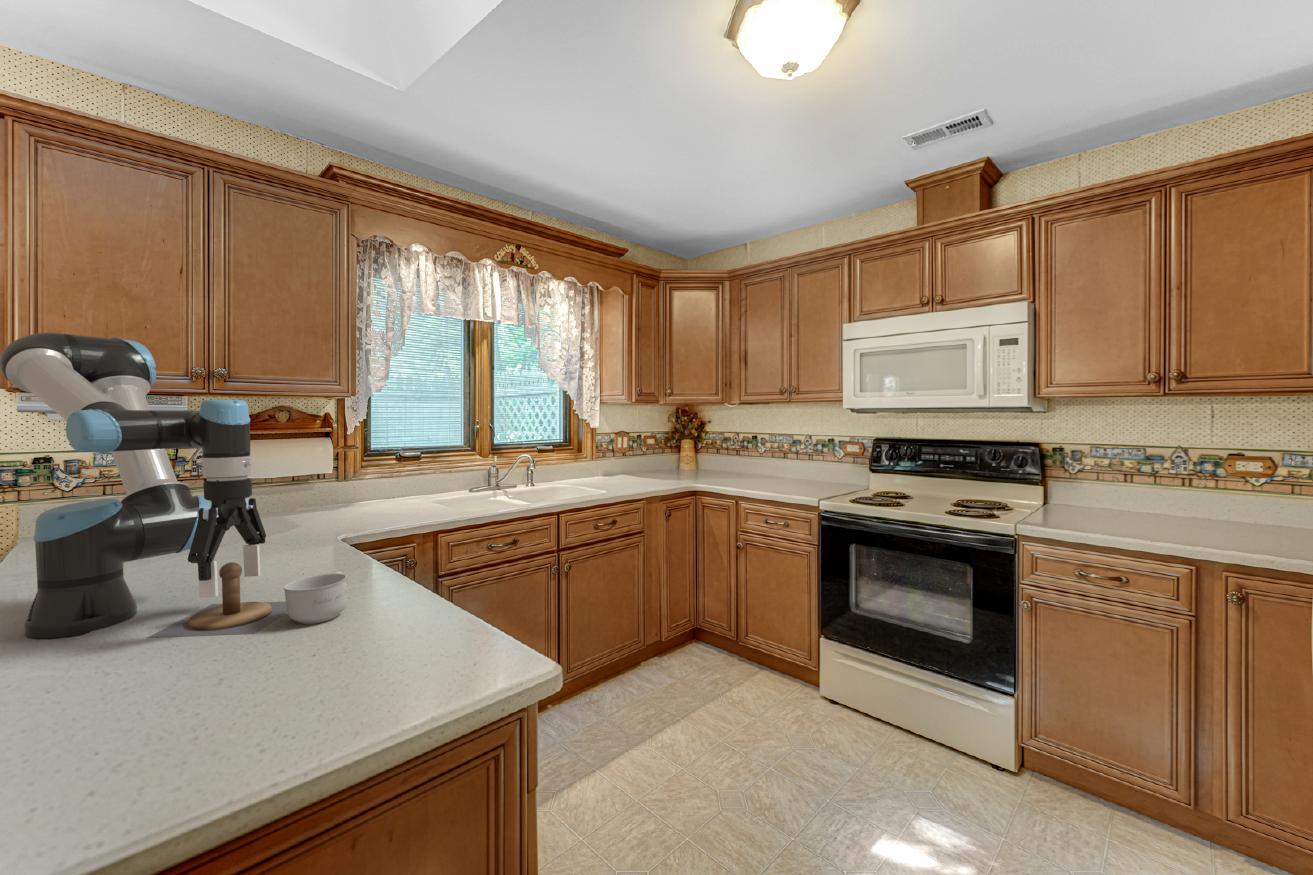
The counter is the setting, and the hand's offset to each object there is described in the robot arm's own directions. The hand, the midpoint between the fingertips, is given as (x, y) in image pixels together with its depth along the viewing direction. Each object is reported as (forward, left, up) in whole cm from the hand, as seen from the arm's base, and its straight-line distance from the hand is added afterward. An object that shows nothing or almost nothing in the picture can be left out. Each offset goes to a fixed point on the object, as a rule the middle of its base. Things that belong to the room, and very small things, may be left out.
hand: (232, 585), depth 110 cm
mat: (0, 0, -7) cm, 7 cm away
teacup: (+17, 0, -7) cm, 18 cm away
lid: (0, 0, -6) cm, 6 cm away
